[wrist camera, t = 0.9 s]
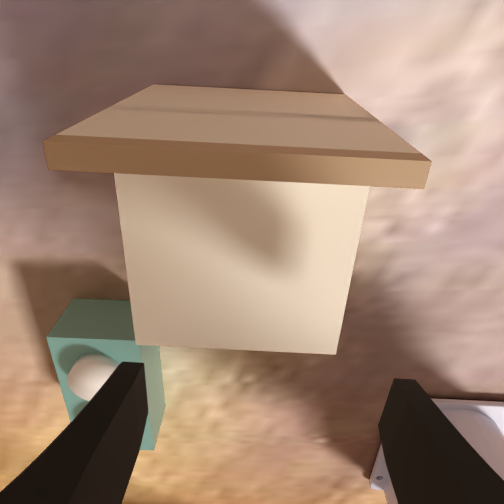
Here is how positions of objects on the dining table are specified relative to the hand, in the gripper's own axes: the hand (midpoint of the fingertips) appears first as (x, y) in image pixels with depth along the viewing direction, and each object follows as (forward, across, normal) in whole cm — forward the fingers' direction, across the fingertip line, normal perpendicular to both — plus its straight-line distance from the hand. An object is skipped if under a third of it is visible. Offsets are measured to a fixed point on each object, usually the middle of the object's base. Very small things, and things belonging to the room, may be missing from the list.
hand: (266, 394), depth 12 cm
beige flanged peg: (+10, +1, -3) cm, 10 cm away
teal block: (+10, +8, +9) cm, 15 cm away
